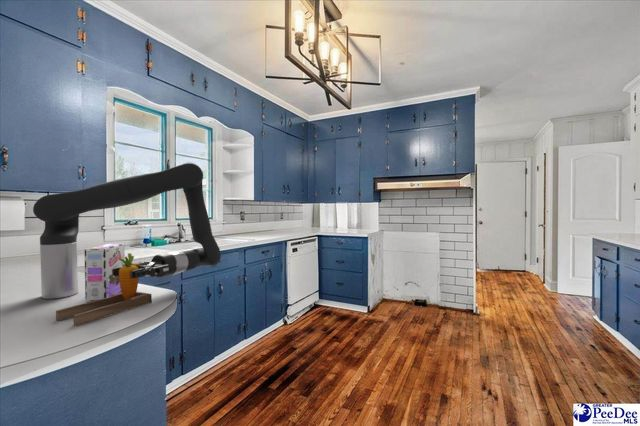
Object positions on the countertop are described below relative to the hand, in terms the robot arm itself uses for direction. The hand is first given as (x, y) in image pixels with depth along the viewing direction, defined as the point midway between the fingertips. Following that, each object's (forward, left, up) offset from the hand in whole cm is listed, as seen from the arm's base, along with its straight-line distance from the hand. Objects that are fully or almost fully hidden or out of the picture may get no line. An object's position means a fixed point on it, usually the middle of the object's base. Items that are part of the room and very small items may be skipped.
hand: (121, 273), depth 89 cm
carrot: (0, +2, -10) cm, 10 cm away
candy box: (-16, +5, -10) cm, 19 cm away
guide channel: (0, -4, -10) cm, 10 cm away
